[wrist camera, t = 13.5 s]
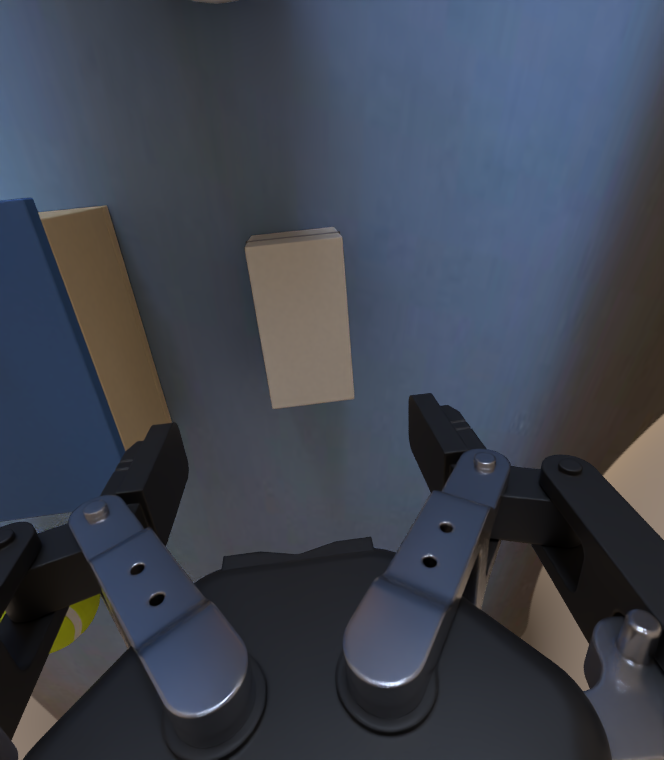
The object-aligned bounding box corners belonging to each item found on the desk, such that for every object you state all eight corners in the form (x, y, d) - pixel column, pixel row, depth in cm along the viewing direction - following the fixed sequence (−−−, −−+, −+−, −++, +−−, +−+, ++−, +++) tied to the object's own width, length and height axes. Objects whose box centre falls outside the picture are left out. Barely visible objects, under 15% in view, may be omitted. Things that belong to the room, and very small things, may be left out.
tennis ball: (31, 528, 34) (-25, 606, 28) (120, 547, 35) (86, 624, 29) (20, 585, 36) (-33, 668, 30) (104, 600, 38) (70, 682, 32)
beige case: (249, 234, 26) (242, 246, 22) (334, 225, 26) (343, 235, 22) (273, 378, 30) (271, 410, 26) (346, 369, 30) (355, 399, 26)
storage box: (-126, 229, 24) (-283, 251, 17) (107, 205, 24) (41, 218, 18) (-9, 447, 30) (-91, 524, 24) (172, 424, 31) (142, 493, 24)
